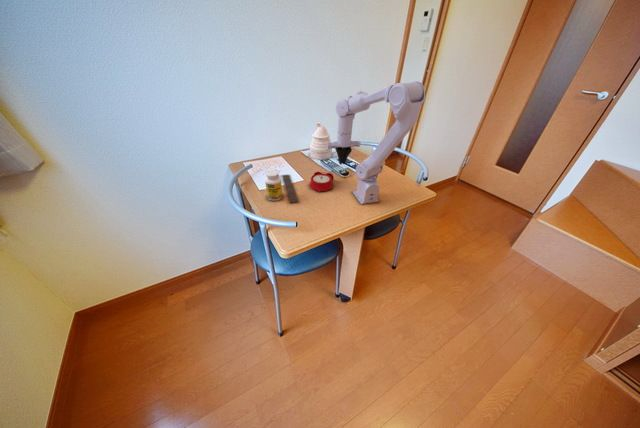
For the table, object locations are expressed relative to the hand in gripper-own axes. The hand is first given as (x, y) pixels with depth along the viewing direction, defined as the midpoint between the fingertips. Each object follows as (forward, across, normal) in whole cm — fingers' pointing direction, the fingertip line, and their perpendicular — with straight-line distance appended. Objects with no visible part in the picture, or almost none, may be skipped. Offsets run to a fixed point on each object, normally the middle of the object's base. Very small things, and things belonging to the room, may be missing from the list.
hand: (341, 163), depth 97 cm
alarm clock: (+10, +9, 0) cm, 13 cm away
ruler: (+9, +24, 0) cm, 26 cm away
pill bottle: (+10, +31, +6) cm, 33 cm away
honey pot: (+10, 0, -34) cm, 35 cm away
